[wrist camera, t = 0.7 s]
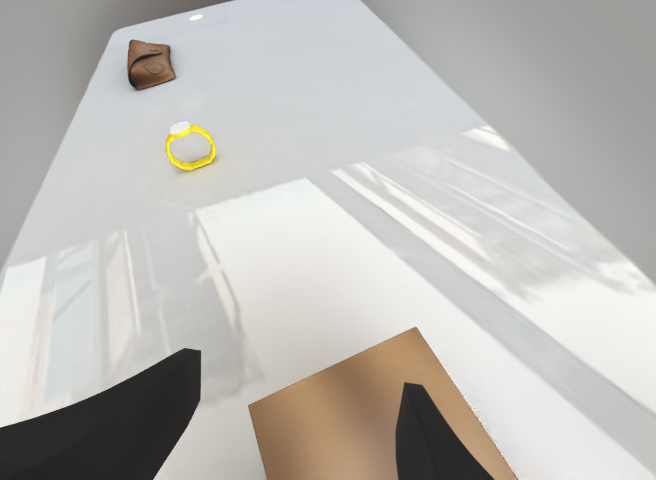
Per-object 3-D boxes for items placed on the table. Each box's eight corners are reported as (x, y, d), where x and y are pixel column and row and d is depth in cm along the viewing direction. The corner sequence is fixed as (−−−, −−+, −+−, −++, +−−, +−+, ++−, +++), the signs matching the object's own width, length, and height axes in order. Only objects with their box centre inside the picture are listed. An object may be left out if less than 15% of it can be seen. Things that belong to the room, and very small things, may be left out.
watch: (219, 153, 53) (202, 114, 49) (222, 163, 52) (205, 124, 47) (177, 166, 53) (156, 128, 48) (178, 178, 51) (157, 139, 46)
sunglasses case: (177, 75, 72) (144, 49, 68) (155, 103, 74) (121, 79, 70) (170, 45, 84) (141, 21, 80) (151, 69, 86) (122, 47, 82)
